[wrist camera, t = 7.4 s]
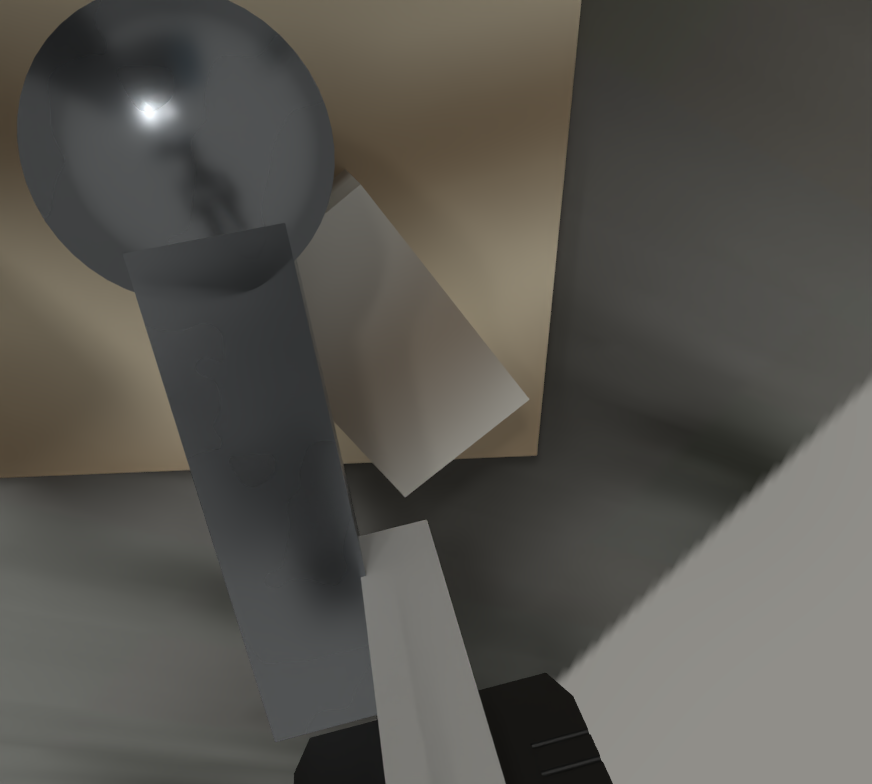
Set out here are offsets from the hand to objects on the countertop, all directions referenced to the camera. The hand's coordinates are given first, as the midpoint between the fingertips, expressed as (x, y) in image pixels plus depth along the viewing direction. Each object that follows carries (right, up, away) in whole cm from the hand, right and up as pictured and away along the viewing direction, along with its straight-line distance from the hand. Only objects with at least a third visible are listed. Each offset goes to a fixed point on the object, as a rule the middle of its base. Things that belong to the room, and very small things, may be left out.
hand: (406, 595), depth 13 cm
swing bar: (-2, +4, -1) cm, 5 cm away
